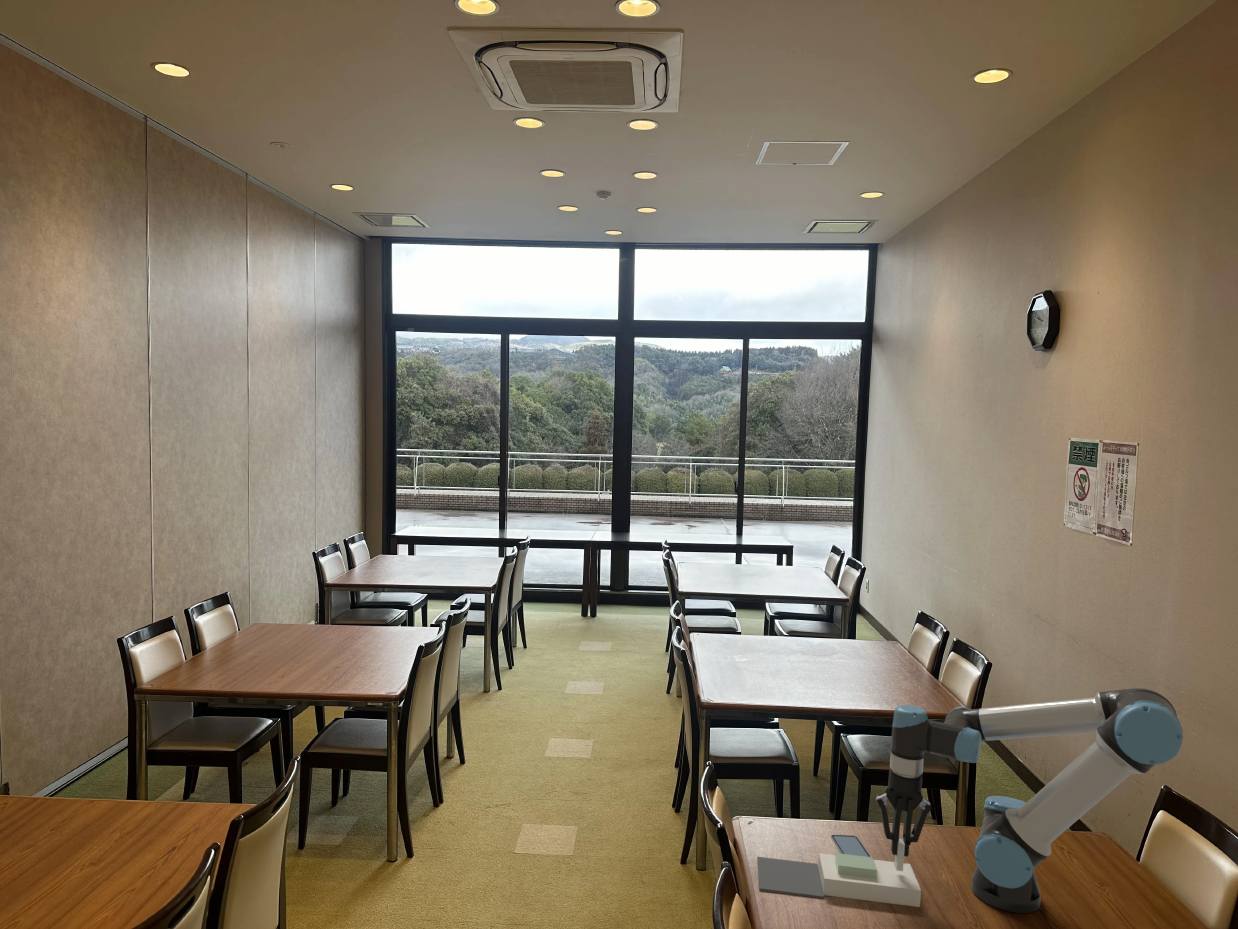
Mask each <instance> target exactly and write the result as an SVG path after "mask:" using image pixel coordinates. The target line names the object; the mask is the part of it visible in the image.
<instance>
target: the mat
mask: <svg viewBox="0 0 1238 929" xmlns="http://www.w3.org/2000/svg"><path fill="white" fill-rule="evenodd" d="M757 874H758V889H759V892H761V891H762V892H770V893H776V894H777V893H778V894H784V895H785V894H786V895H793V896H800V897H801V896H802V897H808V898H816V899H825V895H824V893H823V888H822V883H821V878H820V873H819V868H818V863H814V862H804V861H796V860H788V859H781V858H779V859H778V858H771V857H766V856H765V857H764V856H757Z"/></svg>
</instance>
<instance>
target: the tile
mask: <svg viewBox="0 0 1238 929" xmlns="http://www.w3.org/2000/svg"><path fill="white" fill-rule="evenodd" d="M834 855H835V864H836V868H837V872H838V874H845V875H853V876H861V877H870V878H877V868H876V865H875V862H874V860H875V859H874V857H872V856H871V857H865V856H857V855H848V854H841V853H840V852H839V853H838V852H835V853H834Z"/></svg>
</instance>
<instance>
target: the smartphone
mask: <svg viewBox="0 0 1238 929" xmlns="http://www.w3.org/2000/svg"><path fill="white" fill-rule="evenodd" d="M830 839H831V840H832V842H833V843H834V845H835V847H836V849H837V850H838V851H839V853H840V854H848V855H857V856H865V857H872V856H871V854H870V853H869V852H868V851H867V849H866V847H865V846H864V844H863V843H862V842H861V840H860V839H859V837H858V836H856V835H850V834H849V835H847V834H831V837H830Z"/></svg>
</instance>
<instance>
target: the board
mask: <svg viewBox="0 0 1238 929" xmlns="http://www.w3.org/2000/svg"><path fill="white" fill-rule="evenodd" d="M874 862H875V865H876V868H877V878H870V877H861V876H853V875H845V874H838V872H837V868H836V864H835V854H829V853H828V854H827V853H821V852H819V853H818V863H817V864H818V868H819V873H820V878H821V883H822V888H823V893H824V896H829V897H835V898H844V899H850V900H851V899H852V900H853V899H854V900H859V901H869V902H876V903H882V904H883V903H884V904H892V905H899V906H900V905H901V906H909V907H917V908H921V898H922V895H921V894H922V890H921V886H920V884H919V882H918V880H917V877H916V874H915V873H914V870H913V867H912V865H911V864H910V863H904V864H903V871H897V870H896V868H895V865H894V863H895V861H890V860H889V861H888V860H880V859H874Z"/></svg>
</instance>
